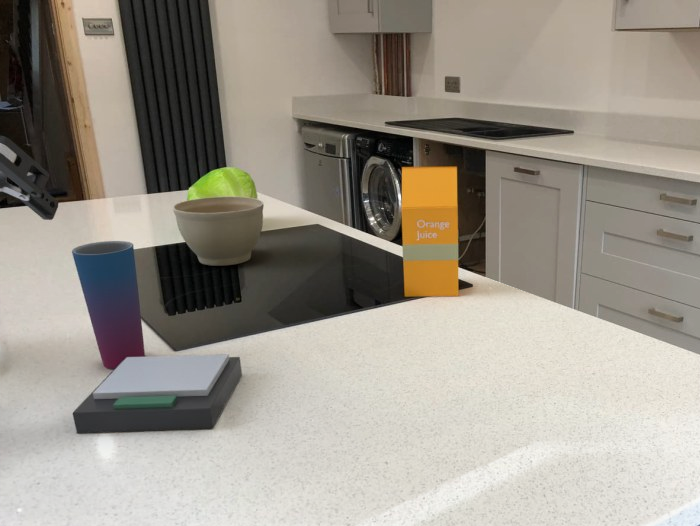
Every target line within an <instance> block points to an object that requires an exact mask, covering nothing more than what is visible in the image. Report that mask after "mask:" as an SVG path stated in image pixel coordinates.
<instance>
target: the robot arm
mask: <svg viewBox="0 0 700 526" xmlns="http://www.w3.org/2000/svg"><path fill="white" fill-rule="evenodd" d="M50 176H51V175H50V172H48V171H47V170H46V169H45V168H44V167H42V165H40V164H39V163H38V162H37V161H36V160H35V159H34V158H32V157H31V156H30V155H29V154H27V152H25V151H24V150H23V149H22V148H21V147H19V146H18V145H17V144H16V143H15V142H14V141H12V139H10V138H8V137H7V136H4V135H0V193H1V192H3V193H6V194H7V195H10V196H11V197H14V198H16V199H19V200H20V202H22V203H23V204H24V205H25V206H27V207H28V208H29V209H30V210H31V211H32V212H34V213H35V214H36V215H37V216H39V218H41V219H42V220H44V221H47V220H48V221H52V220H53V219H54V218H55V216H56V213H57V211H58V208H59V202H58V200H57V199H56V198H55V197H54V196H52V194H51V193H49V192H48V191H47V190H46V189H45V188H46V185H47V183H48V180H49V178H50ZM8 179H10V180H11V181H12V182H13V183H15V185H13V184H11V183H9V182H8V181H7V180H8ZM16 185H17V186H16Z"/></svg>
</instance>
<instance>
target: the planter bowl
mask: <svg viewBox="0 0 700 526" xmlns="http://www.w3.org/2000/svg"><path fill="white" fill-rule="evenodd" d="M264 207H265V206H264V201H263V200H261V199H258V198H257V199H255V198H249V197H234V196H226V197H207V198H199V199H193V200H187V199H186V200H184V201H180V202H177V203H175V204H173V206H172V210H173V211H172V212H173V213H174V215H175V221H176V224H177V228H178V231H179V234H180V235H181V238H182V239H183V240H184V242H185V244H186V245H187V246H188V248H189V249H190V250H191V251H192V252H193V253H194V254H195V256H197V259H198V262H199V263H200V264H202V265H205V266H209V267H213V266H214V267H215V266H216V267H217V266H218V267H223V266H233V265H234V266H235V265H239V264H242V263H245V262H247V261H249V260H251V258H252V251H253V250H254V249H255V247H256V245H257V244H258V242H259V240H260V239H259V238H260V237H261V232H262V229H263V223H264Z"/></svg>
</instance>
